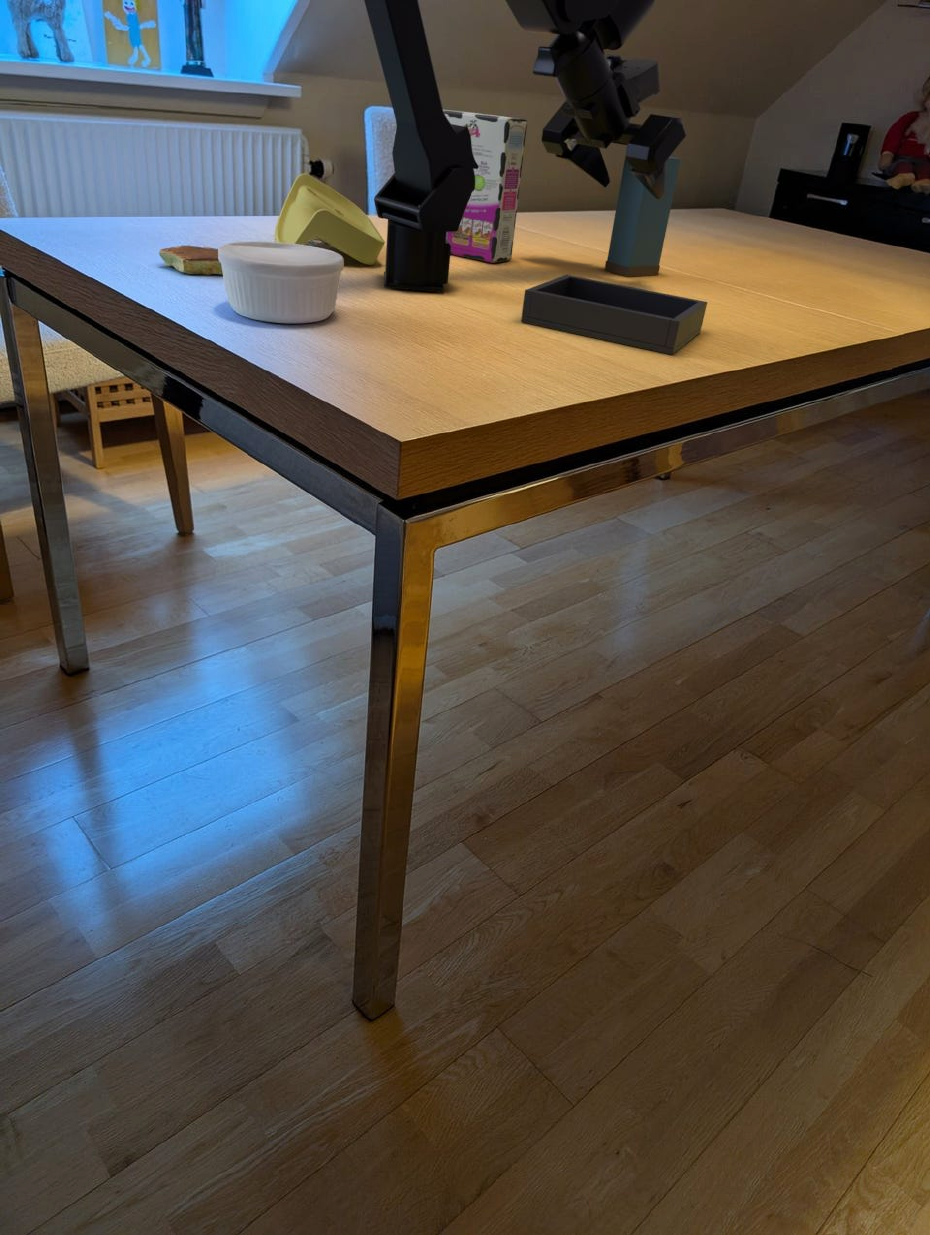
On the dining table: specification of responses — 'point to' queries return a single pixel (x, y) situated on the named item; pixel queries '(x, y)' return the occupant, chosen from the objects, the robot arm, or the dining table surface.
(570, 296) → the dark grey tray
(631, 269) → the blue rectangular block
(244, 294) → the ramekin
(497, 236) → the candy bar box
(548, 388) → the dining table surface
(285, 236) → the plastic component
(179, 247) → the brown and green slab
